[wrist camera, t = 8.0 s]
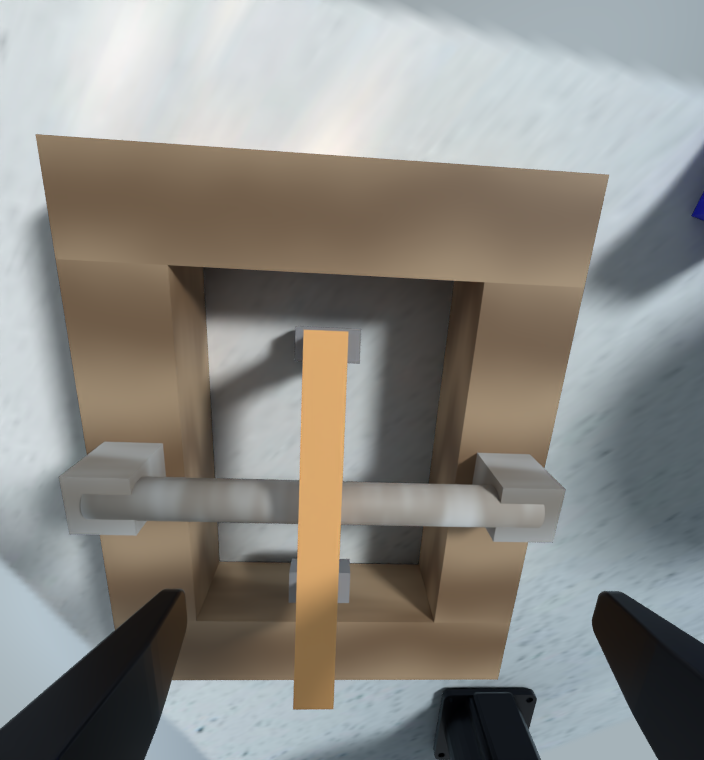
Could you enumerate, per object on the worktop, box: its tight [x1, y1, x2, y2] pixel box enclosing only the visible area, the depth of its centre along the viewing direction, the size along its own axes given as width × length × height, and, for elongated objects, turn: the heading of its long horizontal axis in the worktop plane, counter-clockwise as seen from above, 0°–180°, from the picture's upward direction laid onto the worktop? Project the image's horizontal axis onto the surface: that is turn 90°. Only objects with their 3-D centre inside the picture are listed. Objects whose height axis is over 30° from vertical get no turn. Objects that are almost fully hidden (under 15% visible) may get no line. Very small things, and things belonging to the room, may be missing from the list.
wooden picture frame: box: [36, 134, 609, 680], centre depth 18 cm, size 25×20×7 cm
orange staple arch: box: [289, 326, 361, 709], centre depth 16 cm, size 14×3×7 cm, turn 177°
